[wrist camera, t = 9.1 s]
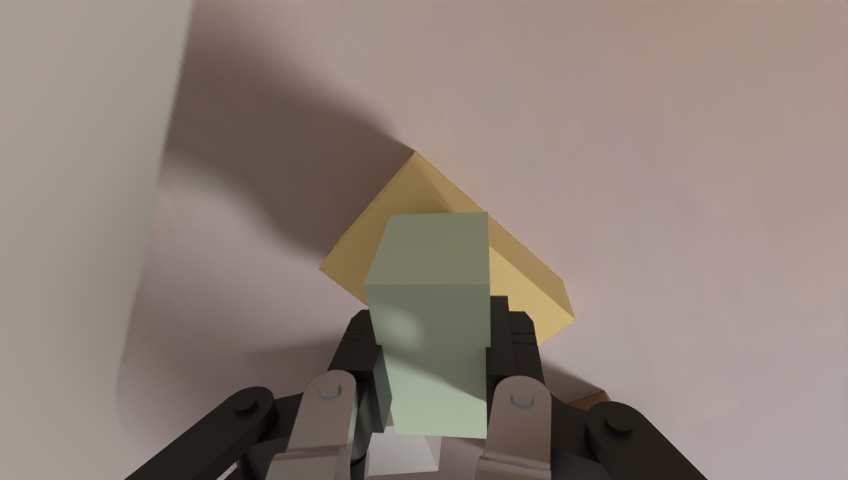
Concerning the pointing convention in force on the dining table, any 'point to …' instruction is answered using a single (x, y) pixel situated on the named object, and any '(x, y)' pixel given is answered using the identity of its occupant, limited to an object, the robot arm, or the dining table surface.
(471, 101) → the dining table surface
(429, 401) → the sage brick
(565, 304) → the ochre brick
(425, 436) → the grey brick
